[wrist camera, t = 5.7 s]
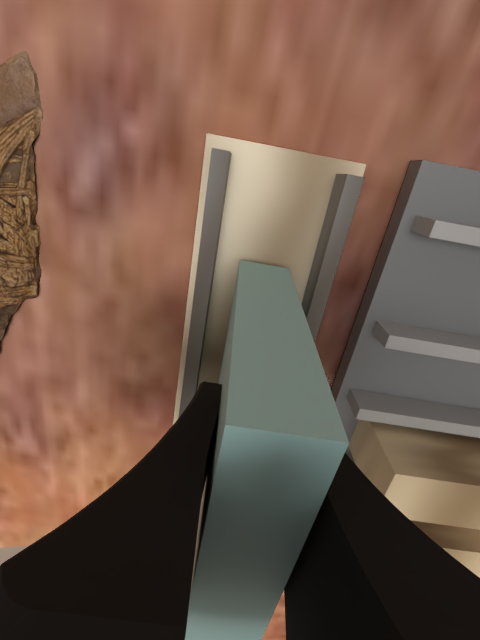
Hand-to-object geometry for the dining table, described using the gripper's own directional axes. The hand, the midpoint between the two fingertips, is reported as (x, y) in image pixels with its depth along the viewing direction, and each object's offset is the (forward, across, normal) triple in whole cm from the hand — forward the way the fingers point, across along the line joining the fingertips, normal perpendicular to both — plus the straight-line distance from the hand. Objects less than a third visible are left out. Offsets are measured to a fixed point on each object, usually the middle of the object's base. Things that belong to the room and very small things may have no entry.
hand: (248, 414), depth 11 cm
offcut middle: (+5, -10, +4) cm, 12 cm away
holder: (+6, 0, 0) cm, 6 cm away
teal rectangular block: (+5, 0, 0) cm, 5 cm away
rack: (+6, -10, +1) cm, 12 cm away
